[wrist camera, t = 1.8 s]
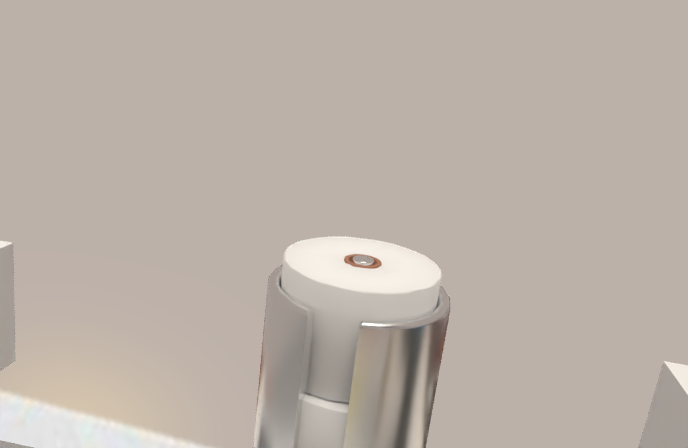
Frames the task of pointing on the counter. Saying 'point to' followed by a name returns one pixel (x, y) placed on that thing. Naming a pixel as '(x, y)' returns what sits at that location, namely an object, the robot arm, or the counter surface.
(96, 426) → the counter surface
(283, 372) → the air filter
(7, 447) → the plate
